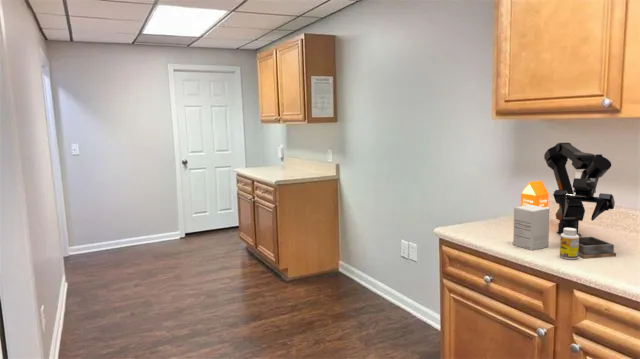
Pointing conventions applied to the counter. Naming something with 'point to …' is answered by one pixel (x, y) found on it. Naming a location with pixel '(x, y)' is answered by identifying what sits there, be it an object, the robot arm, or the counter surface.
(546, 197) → the orange juice
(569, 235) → the supplement bottle
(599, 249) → the tray
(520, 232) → the supplement box
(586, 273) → the counter surface
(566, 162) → the robot arm
